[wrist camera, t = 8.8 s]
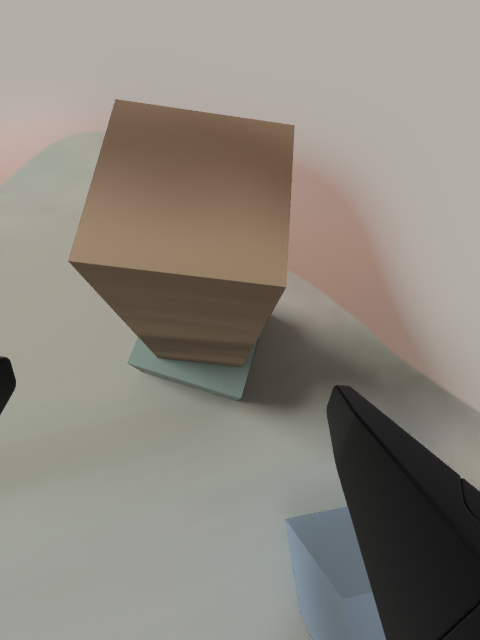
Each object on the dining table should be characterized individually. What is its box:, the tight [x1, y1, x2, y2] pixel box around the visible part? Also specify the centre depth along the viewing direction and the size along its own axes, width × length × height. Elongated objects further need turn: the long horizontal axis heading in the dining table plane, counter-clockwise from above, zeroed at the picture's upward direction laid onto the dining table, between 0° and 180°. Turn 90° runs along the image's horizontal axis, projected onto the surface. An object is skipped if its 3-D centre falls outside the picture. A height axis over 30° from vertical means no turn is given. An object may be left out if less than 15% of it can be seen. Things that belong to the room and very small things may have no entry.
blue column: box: [285, 507, 386, 640], centre depth 15 cm, size 5×5×9 cm
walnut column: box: [68, 99, 294, 367], centre depth 14 cm, size 5×5×12 cm
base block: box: [128, 337, 259, 401], centre depth 21 cm, size 7×7×4 cm
